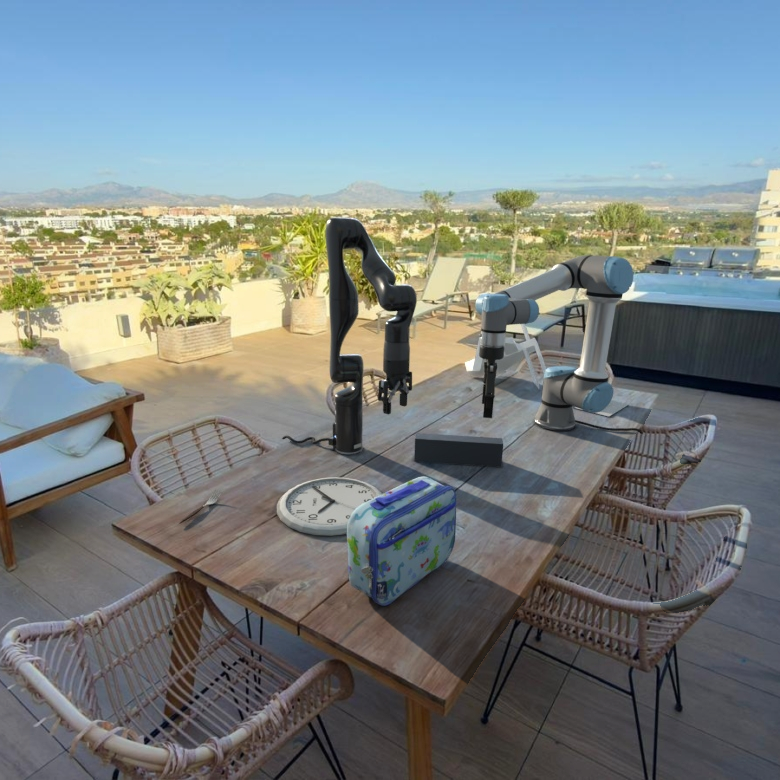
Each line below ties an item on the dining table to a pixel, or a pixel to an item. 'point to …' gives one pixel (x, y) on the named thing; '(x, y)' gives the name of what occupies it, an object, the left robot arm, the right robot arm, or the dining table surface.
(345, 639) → the dining table surface
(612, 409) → the invitation card
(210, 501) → the fork
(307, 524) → the wall clock
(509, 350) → the white plastic object
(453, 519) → the lunch box
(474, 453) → the beam
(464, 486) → the dining table surface
